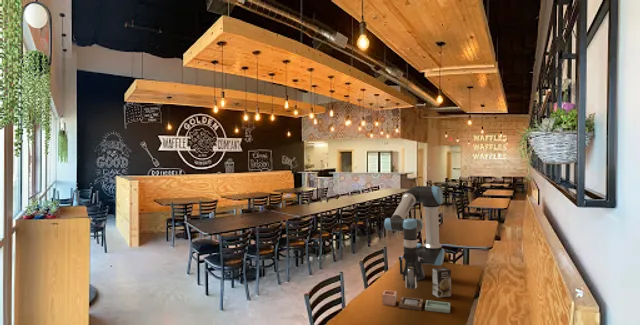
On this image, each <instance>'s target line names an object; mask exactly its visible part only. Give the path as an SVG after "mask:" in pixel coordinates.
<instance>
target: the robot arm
mask: <svg viewBox="0 0 640 325" xmlns="http://www.w3.org/2000/svg"><path fill="white" fill-rule="evenodd" d="M443 202H444V195H443V190H442V189H441V187H439V186H435V185H416V186H412V187H410V188H409V189H407V190H405V192H404V193H403V194H402V196H401V201H400V202H399V204H398V206H397V207H396V209H395V210H394V213H393V214H392V215H391V217H387V218H385V219H384V225H383V227H384V228H385V230H387V231H393V232H402V234H403V255H399V256H398V260H399V274H400V275H402V278H403V281H404V283H405V284H404V285H405V287H404V288H407V267H410V266H411V267H414V270H415V288H414V289H417V288H418V283H419V281H422V280H424V279H425V278H426V277H425V272H424V268H423V264H424V265H430V266H442V265H443V263H444V259H445V249H444V248H443V247H442V244H441V243H440V228H439V226H440V223H439V208H440V207H441V205H442V204H443ZM415 204H422V207H423V208H424V214H425V215H424V218H425V221H424V222H425V243H424V244H423V246H422V243H420V242H418V233H419V232H421V231H422V230H423V228H424V223H423V221H422V220H421V219H419V218H406V217H407V216H408V215H409V212H410V210H411V208H412V207H413V206H414V205H415ZM403 260H404V266H403Z"/></svg>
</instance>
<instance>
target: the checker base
mask: <svg viewBox="0 0 640 325" xmlns="http://www.w3.org/2000/svg"><path fill="white" fill-rule="evenodd" d="M405 299H410V300H418V304H417V305H408V304H404V302H405ZM423 304H424V299H423V298H416V297H408V296H401V298H400V300H399V303H398V308H399V309H406V310H415V311H422V309H423Z"/></svg>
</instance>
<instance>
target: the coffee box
mask: <svg viewBox="0 0 640 325" xmlns="http://www.w3.org/2000/svg"><path fill="white" fill-rule="evenodd" d="M451 273H452V270H451V269H450V268H447V267H445V266H442V267H435V268H432V295H433V296H435V297H436V298H448V297H451V296H452V274H451Z"/></svg>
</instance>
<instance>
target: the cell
mask: <svg viewBox="0 0 640 325" xmlns="http://www.w3.org/2000/svg"><path fill="white" fill-rule="evenodd" d="M406 288H407V289H411V290H414V289H416V288H415V270H414V267H411V266H410V267H407V287H406Z"/></svg>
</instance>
